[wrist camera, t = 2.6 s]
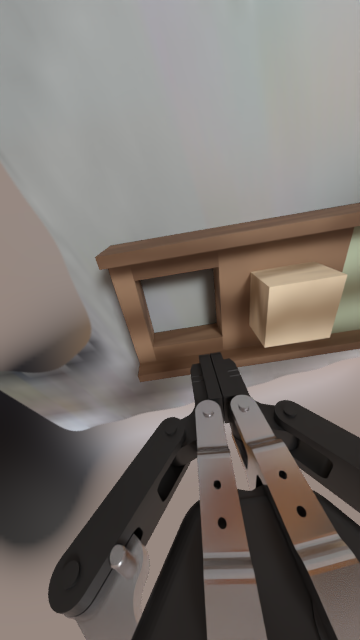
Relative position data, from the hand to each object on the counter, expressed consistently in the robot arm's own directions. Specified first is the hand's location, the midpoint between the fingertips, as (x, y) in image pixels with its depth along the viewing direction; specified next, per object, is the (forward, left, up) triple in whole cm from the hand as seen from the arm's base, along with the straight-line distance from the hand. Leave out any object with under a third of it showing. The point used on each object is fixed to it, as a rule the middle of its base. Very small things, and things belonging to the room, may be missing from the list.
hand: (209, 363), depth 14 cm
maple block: (0, +9, -8) cm, 12 cm away
